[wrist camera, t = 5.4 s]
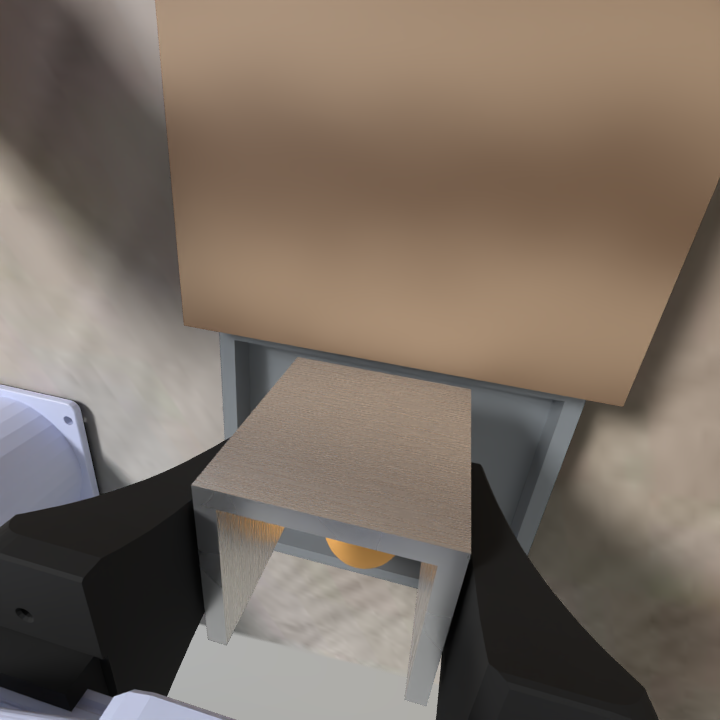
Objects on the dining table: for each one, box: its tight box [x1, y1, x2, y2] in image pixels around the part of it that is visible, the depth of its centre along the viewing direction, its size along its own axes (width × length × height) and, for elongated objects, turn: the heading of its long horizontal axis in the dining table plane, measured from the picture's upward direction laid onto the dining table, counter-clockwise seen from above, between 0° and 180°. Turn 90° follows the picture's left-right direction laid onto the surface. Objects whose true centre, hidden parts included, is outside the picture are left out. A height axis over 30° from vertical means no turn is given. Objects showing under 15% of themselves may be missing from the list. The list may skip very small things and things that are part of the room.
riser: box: [155, 0, 720, 407], centre depth 13 cm, size 10×14×3 cm
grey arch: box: [191, 357, 471, 706], centre depth 12 cm, size 5×5×6 cm
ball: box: [326, 538, 395, 569], centre depth 18 cm, size 3×3×3 cm
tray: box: [219, 332, 586, 589], centre depth 18 cm, size 11×13×2 cm
